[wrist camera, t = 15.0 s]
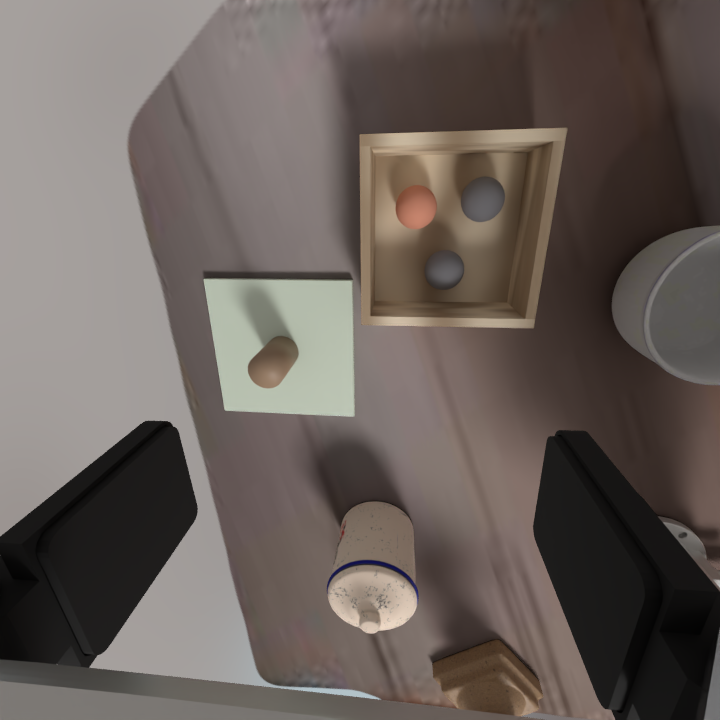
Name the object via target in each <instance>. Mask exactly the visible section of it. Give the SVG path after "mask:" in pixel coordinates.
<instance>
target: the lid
mask: <svg viewBox="0 0 720 720" xmlns="http://www.w3.org/2000/svg"><path fill="white" fill-rule="evenodd" d="M204 285H205V291H206V297H207V303H208V309H209V316H210V322H211V328H212V334H213V340H214V346H215V353H216V359H217V365H218V371H219V377H220V384H221V390H222V396H223V402H224V408H225V410H226V411H247V412H267V413H288V414H309V415H330V416H351V417H354V415H355V385H354V317H353V280H343V279H248V278H205V279H204Z"/></svg>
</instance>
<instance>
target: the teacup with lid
mask: <svg viewBox="0 0 720 720" xmlns="http://www.w3.org/2000/svg"><path fill="white" fill-rule="evenodd" d="M327 594H328V599H329V602H330V605H331V607H332V609H333V610H334V611H335V613H336V614H337V615H338V616H339V617H340V618H342V619H343V620H344V621H346V622H348V623H349V624H351V625H353V626H356V627H359V628H361V629H362V630H363V631H364V632H366V633H375V632H377V631H378V630H388V629H393V628H396V627H398V626H400V625H402V624H404V623H405V622H407V621H408V620H409V619H410V618H411V616H412V615H413V613H414V612H415V610H416V607H417V604H418V590H417V587H416V584H415V555H414V530H413V525H412V523H411V521H410V519H409V517H408V516H407V515H406V514H405V513H404V512H403V511H402V510H400V509H399V508H397V507H395V506H393V505H391V504H388V503H385V502H378V501H372V502H365V503H361V504H359V505H356V506H355V507H353V508H352V509H350V510H349V511H348V512H347V513H346V515H345V516H344V518H343V521H342V525H341V530H340V535H339V540H338V545H337V551H336V556H335V561H334V566H333V571H332V575H331V577H330V579H329V581H328V585H327Z"/></svg>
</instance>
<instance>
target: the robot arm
mask: <svg viewBox="0 0 720 720" xmlns="http://www.w3.org/2000/svg"><path fill="white" fill-rule="evenodd" d="M197 509H198V508H197V503H196V499H195V495H194V491H193V487H192V483H191V479H190V475H189V471H188V467H187V464H186V459H185V456H184V452H183V447H182V444H181V440H180V436H179V432H178V430H177V428H175V427H173V426H172V424H171V423H170V422H168V421H145V422H143V423H142V424H140V425H139V426H138V427H137V428H135V429H134V430H133V431H132V432H130V433H129V434H128V435H127V436H125V437H124V438H123V439H122V440H120V441H119V442H118V443H117V444H115V445H114V446H113V447H112V448H110V449H109V450H108V451H107V452H105V453H104V454H103V455H102V456H100V457H99V458H98V459H97V460H95V461H94V462H93V463H92V464H90V465H89V466H88V467H87V468H85V469H84V470H83V471H82V472H80V473H79V474H78V475H77V476H75V477H74V478H73V479H72V480H70V481H69V482H68V483H67V484H65V485H64V486H63V487H62V488H60V489H59V490H58V491H57V492H55V493H54V494H53V495H52V496H50V497H49V498H48V499H47V500H45V501H44V502H43V503H42V504H41V505H40V506H38V507H37V508H36V509H34V510H33V511H32V512H31V513H29V514H28V515H27V516H25V517H24V518H23V519H22V520H20V521H19V522H18V523H17V524H15V525H14V526H13V527H12V528H10V529H9V530H8V531H7V532H5V533H4V534H3V535H2V536H0V720H543V719H535V718H528V717H521V716H513V715H505V714H497V713H488V712H480V711H471V710H463V709H454V708H446V707H437V706H429V705H420V704H412V703H403V702H394V701H386V700H377V699H369V698H360V697H352V696H343V695H334V694H325V693H316V692H307V691H298V690H289V689H280V688H271V687H262V686H254V685H244V684H235V683H226V682H217V681H208V680H199V679H190V678H181V677H172V676H161V675H152V674H143V673H133V672H124V671H114V670H105V669H95V668H89V667H90V665H91V664H92V662H93V661H94V659H95V658H96V657H97V655H99V654H102V653H103V652H104V651H105V650H106V649H107V648H108V647H109V645H110V644H111V643H112V641H113V640H114V638H115V637H116V635H117V634H118V632H119V631H120V629H121V628H122V626H123V625H124V623H125V622H126V620H127V619H128V618H129V616H130V614H131V613H132V612H133V610H134V609H135V607H136V606H137V604H138V603H139V601H140V600H141V598H142V597H143V596H144V594H145V593H146V591H147V590H148V588H149V587H150V585H151V584H152V583H153V581H154V580H155V578H156V576H157V575H158V574H159V572H160V571H161V569H162V568H163V566H164V565H165V564H166V562H167V561H168V559H169V558H170V556H171V555H172V553H173V552H174V550H175V549H176V547H177V546H178V544H179V543H180V541H181V540H182V538H183V537H184V536H185V534H186V533H187V531H188V530H189V528H190V527H191V525H192V524H193V523H194V520H195V519H196V516H197ZM533 530H534V537H535V540H536V543H537V546H538V548H539V551H540V553H541V556H542V558H543V561H544V564H545V566H546V569H547V571H548V574H549V576H550V579H551V581H552V584H553V586H554V589H555V591H556V594H557V597H558V599H559V602H560V604H561V607H562V609H563V612H564V614H565V617H566V619H567V622H568V624H569V627H570V630H571V632H572V635H573V637H574V640H575V642H576V645H577V647H578V650H579V652H580V655H581V657H582V660H583V663H584V665H585V668H586V670H587V673H588V675H589V678H590V680H591V683H592V685H593V688H594V690H595V693H596V695H597V698H598V700H599V702H600V704H601V705H602V707H604V708H605V709H611V710H612V712H613V715H614V717H615V720H720V570H717V569H716V568H714V567H713V566H712V565H711V564H710V563H709V562H708V561H707V559H706V550H705V548H704V545H703V543H702V542H701V541H700V539H699V538H698V537H697V536H696V535H695V533H694V532H693V531H692V530H691V529H690V528H688V527H687V526H685V525H684V524H682V523H680V522H678V521H675V520H673V519H670V518H665V517H661V516H657V515H656V514H655V512H654V511H653V510H652V509H651V508H650V506H649V505H648V504H647V503H646V501H645V500H644V499H643V498H642V497H641V496H640V495H639V494H638V493H637V492H636V491H635V490H634V488H633V487H632V486H631V485H630V483H629V482H628V481H627V480H626V479H625V477H624V476H623V475H622V474H621V473H620V471H619V470H618V469H617V468H616V466H615V465H614V464H613V463H612V462H611V460H610V459H609V458H608V457H607V456H606V454H605V453H604V452H603V451H602V449H601V448H600V447H599V446H598V445H597V443H596V442H595V441H594V440H593V439H592V437H591V436H590V435H589V434H588V433H587V432H586V431H569V430H559V431H557V432H556V434H555V436H550V437H548V439H547V443H546V450H545V456H544V462H543V468H542V474H541V480H540V487H539V493H538V499H537V505H536V511H535V518H534V525H533ZM57 664H58V665H57Z"/></svg>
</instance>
